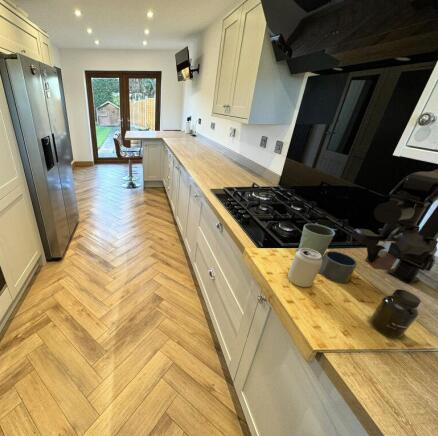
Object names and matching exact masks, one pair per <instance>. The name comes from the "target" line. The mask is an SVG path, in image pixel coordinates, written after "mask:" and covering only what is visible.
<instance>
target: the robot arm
mask: <svg viewBox="0 0 438 436" xmlns="http://www.w3.org/2000/svg"><path fill="white" fill-rule="evenodd" d="M388 197H390V198H389V200H388V201H385V202H382V203H380V204H378V205H377V206H376V207H375V208H374V210H373V215H374V218H375V220H376V221H378V222H379V223H382V224H384V226H383V227H382V228H378V229H377V231H376V232H377V233H379V234H377V233H374V232H373V231H372V230H370V229H365V228H355V229H353V230H352V231H351V234H350V236H351V238H353V239H354V240H356V241H357V242H358V243H359V244H361V245H363V246H365V247H366V253H367V255H368V261H369V262H371V263H372V262H373V261H374V259H375V258H376V256H377V255H378V253H379V251H380V250H381V251H384V250H386V247H385V246H383V245H384V243H390V244H389V247H388V250H387V252H388V253H389V254H391V255H392V256H393V257H395V258H396V259H397V260H398V261H397V263H396V265H395V267H394V268H392V269H390V271H389V270H387V271H386V272H387V274H389V275H391V276H392V277H395V278H397V279H399V280H401V281H403V282H405V283H407V284H411V283H415V282H417V281H419V280H420V278H419V277H417V276H418V274H419V273H420V271H423V272H424V271H426V272H427V271H428V272H431V270H432V269H433V267H434V265H435V264H436V256H435V254H436V253H437V251H438V247H437V245H438V205H436V207H435V208H434V210H433V211H432V213H431V214H430V215H429V217H428V218H427V219H426V220H425V222H424V224H423V225H422V226H421V228H420V226H419V225H417V224H418V222H419V221H420V219H421V218H422V216H423V214H424V213H425V211H426V209H427V208H428V206H429V205H430V204H432V205H433V204H435V202H437V201H438V168H437V169H434V170H432V171H417V172H412V173H410V174H408V175H407V176H404V178H402V180H401V181H400V182H398V184H397V185H396V186H395V187H394V188H393V189H392V190H391V192H389V194H388Z"/></svg>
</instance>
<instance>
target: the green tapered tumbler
mask: <svg viewBox="0 0 438 436" xmlns="http://www.w3.org/2000/svg"><path fill="white" fill-rule="evenodd" d="M301 233H302V234H301V237H300V241H299V242H300V243H299V244H298V245H299V246H298V249H297V251H299V250H300V249H301V248H309V249H313V250H315V251H317V252H319V253H320V254H321V255H322V258H321V259H323V257H324V254H325V253H326V252H327V250H328V248H329V245H330V244H331V242H332V240H333V239H334V237H335V234H336V232H335V231H334V230H333V229H332V228H330V227H328V226H325V225H322V224H318V223H306V224H304V225H303V228H302V232H301Z"/></svg>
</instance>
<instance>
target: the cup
mask: <svg viewBox="0 0 438 436" xmlns="http://www.w3.org/2000/svg"><path fill="white" fill-rule="evenodd" d="M357 265H358V262H357V260H356V259H355V258H353V257H352V256H350V255H348V254H345V253H343V252H341V251H335V250H328V251H327V250H326V251H325V253H324V255H323V257H322V264H321V266H320V268H319V270H318V272H319V273H320V275H322V276H323V277H325V278H327V279H328V280H331V281H333V282H336V283H337V282H338V283H348V282H349V281H350V279H351V277H352V275H353V273H354V271H355V270H356V268H357Z"/></svg>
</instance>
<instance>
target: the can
mask: <svg viewBox="0 0 438 436" xmlns="http://www.w3.org/2000/svg"><path fill="white" fill-rule="evenodd" d="M321 258H322V259H323V257H322V255H321V254H320V253H319V252H317V251H315V250H313V249H309V248H301V249H300V250H299V251H298V250H297V251H296V252H295V255H294V256H293V260H292V262H291V265H290V268H289V270H288V273H287V278H288V280H289V281H290V282H291V283H292V284H293V285H295V286H298V287H300V288H309V287H311V286H313V284H314V282H315V279H316V277H317V275H318V272H319V268H320V266H321V264H322V259H321Z"/></svg>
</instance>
